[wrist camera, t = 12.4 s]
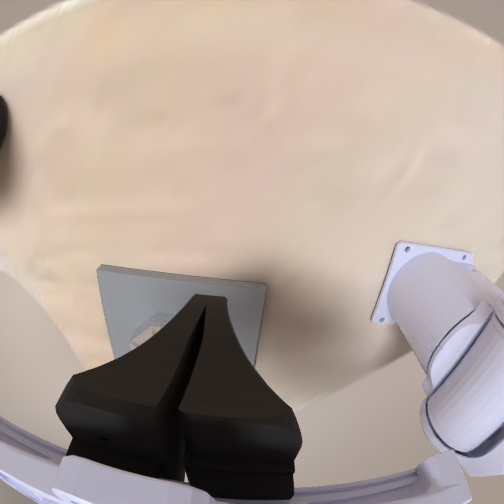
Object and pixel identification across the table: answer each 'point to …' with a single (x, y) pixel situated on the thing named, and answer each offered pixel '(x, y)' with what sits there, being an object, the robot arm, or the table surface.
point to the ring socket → (150, 328)
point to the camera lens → (2, 120)
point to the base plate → (173, 302)
